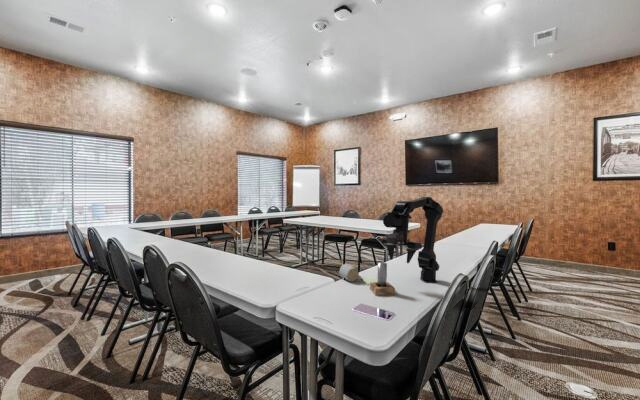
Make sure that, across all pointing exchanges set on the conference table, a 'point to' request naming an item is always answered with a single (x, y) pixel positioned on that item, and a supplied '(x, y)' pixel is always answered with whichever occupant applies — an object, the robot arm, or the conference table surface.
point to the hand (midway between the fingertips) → (399, 261)
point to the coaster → (369, 280)
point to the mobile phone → (374, 312)
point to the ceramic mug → (349, 272)
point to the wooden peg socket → (382, 289)
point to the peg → (382, 274)
